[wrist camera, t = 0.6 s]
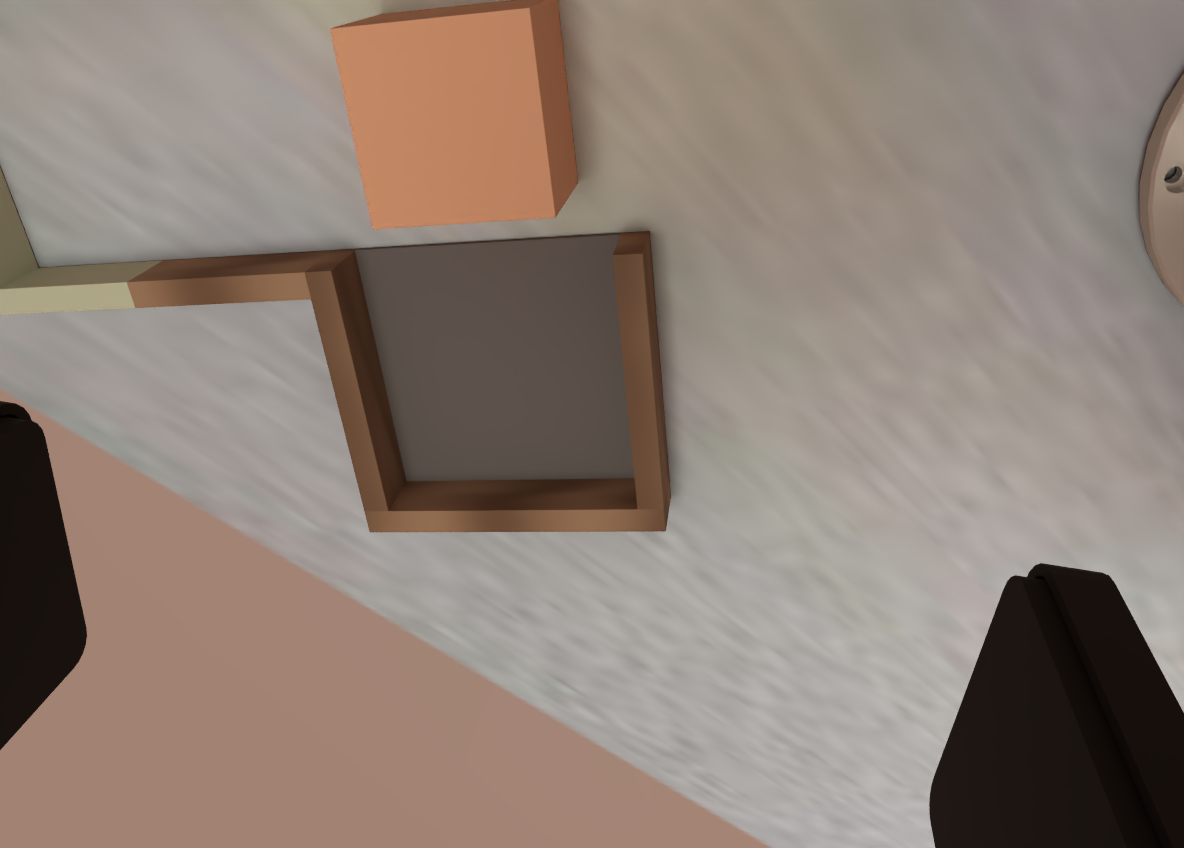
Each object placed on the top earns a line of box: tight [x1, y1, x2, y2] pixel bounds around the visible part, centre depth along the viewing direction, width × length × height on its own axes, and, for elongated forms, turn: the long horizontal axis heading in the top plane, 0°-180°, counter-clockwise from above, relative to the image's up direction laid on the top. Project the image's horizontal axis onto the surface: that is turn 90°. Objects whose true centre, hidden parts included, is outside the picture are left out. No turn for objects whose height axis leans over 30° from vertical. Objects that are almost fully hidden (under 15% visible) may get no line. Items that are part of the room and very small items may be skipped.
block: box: [330, 0, 578, 229], centre depth 31 cm, size 6×6×4 cm
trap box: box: [0, 168, 671, 532], centre depth 33 cm, size 26×32×2 cm
